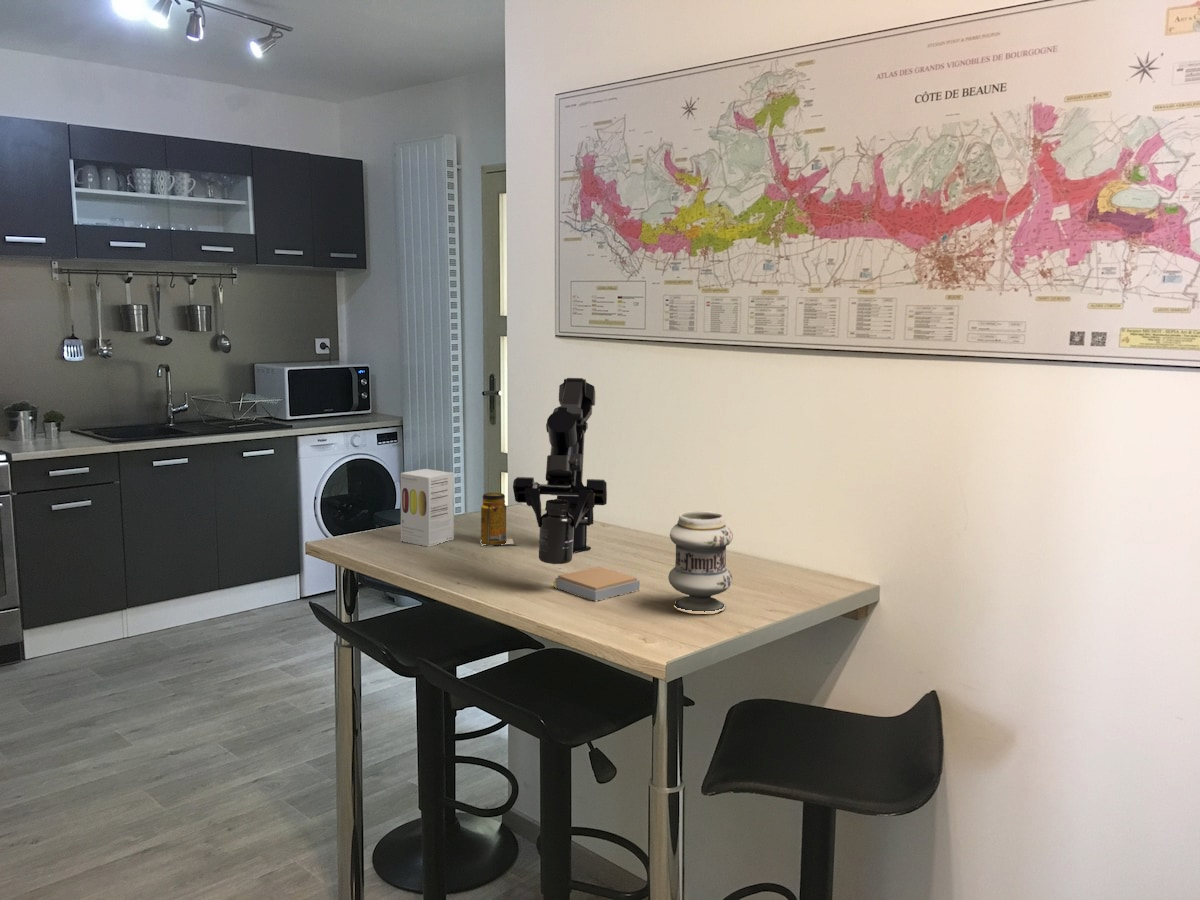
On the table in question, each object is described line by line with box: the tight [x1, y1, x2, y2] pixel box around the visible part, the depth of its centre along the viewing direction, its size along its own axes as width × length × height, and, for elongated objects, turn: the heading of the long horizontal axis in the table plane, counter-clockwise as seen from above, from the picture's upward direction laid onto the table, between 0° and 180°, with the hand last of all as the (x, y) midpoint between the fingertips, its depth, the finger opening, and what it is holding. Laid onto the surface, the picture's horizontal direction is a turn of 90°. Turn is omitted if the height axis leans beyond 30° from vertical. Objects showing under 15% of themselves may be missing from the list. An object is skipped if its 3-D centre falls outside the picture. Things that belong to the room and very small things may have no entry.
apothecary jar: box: [667, 510, 734, 612], centre depth 177 cm, size 12×12×18 cm
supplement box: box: [400, 468, 455, 548], centre depth 225 cm, size 10×9×17 cm
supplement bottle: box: [538, 498, 574, 565], centre depth 186 cm, size 7×7×12 cm
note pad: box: [553, 566, 641, 602], centre depth 188 cm, size 12×12×3 cm
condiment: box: [480, 492, 518, 547], centre depth 225 cm, size 7×8×12 cm
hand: (556, 526), depth 184 cm, fingers closed on supplement bottle, 7 cm apart
